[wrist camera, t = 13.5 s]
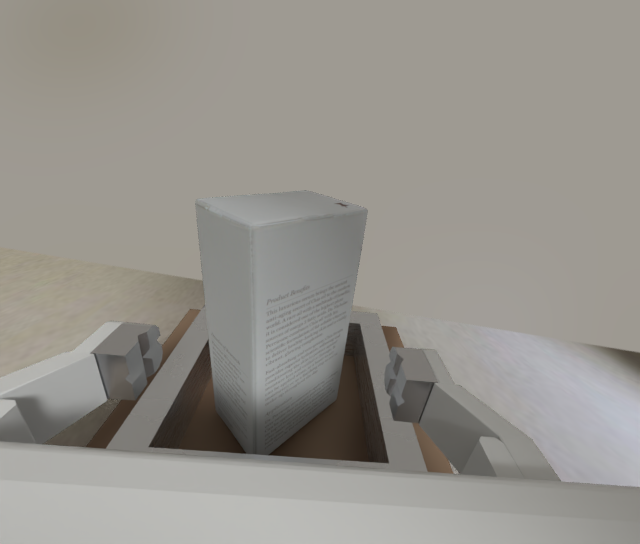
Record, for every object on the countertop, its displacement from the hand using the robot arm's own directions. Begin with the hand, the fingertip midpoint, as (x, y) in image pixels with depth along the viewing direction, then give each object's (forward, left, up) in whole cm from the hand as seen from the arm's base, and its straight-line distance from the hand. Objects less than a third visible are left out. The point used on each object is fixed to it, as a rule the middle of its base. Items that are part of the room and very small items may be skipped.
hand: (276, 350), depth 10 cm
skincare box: (-2, -3, -8) cm, 9 cm away
